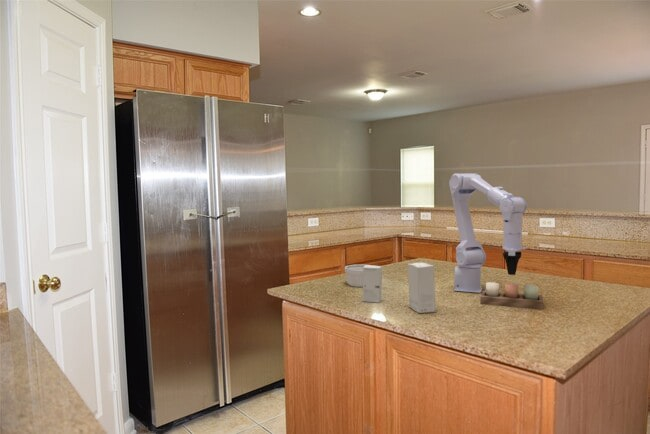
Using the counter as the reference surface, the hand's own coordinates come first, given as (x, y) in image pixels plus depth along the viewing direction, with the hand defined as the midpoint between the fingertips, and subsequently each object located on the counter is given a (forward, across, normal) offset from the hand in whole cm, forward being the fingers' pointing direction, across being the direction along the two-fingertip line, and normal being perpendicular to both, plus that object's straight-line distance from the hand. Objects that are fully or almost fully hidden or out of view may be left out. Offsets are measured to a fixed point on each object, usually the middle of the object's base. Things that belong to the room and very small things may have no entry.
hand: (511, 273), depth 153 cm
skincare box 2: (+10, -18, +26) cm, 34 cm away
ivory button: (+8, 0, +6) cm, 10 cm away
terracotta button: (+8, 0, 0) cm, 8 cm away
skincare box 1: (+10, -13, +44) cm, 47 cm away
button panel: (+10, 0, 0) cm, 10 cm away
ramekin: (+10, +10, +56) cm, 58 cm away
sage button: (+8, 0, -6) cm, 10 cm away
